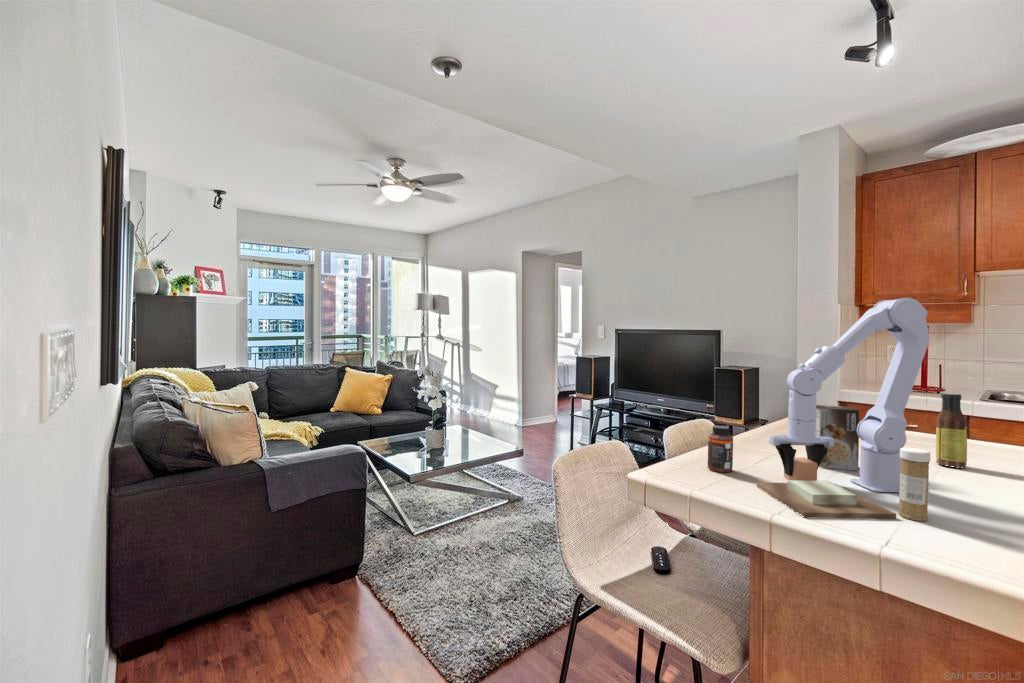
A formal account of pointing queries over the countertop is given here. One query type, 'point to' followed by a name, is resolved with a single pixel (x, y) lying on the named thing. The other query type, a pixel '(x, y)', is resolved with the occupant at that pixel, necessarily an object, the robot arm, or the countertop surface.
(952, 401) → the sauce bottle
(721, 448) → the supplement bottle
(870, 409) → the robot arm
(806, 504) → the walnut base board
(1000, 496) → the countertop surface
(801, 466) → the terracotta cube
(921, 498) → the sprinkles bottle
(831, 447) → the coffee box
